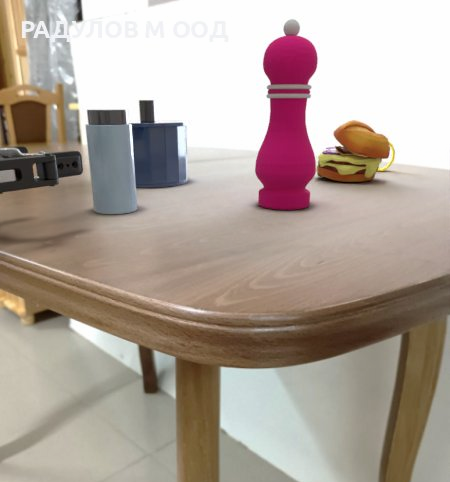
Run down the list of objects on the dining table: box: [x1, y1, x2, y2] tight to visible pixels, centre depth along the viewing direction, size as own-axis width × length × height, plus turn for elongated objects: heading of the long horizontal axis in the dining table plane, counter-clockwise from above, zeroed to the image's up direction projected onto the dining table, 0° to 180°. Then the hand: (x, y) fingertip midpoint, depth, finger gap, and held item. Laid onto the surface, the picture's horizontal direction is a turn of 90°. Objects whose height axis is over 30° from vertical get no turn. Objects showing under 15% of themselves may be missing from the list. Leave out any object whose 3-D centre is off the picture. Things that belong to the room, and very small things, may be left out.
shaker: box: [84, 108, 138, 215], centre depth 55 cm, size 5×5×11 cm
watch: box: [376, 136, 396, 172], centre depth 89 cm, size 6×3×6 cm, turn 77°
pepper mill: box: [254, 18, 319, 211], centre depth 56 cm, size 7×7×20 cm
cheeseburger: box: [316, 119, 391, 183], centre depth 78 cm, size 10×11×10 cm
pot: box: [132, 125, 189, 189], centre depth 76 cm, size 11×11×8 cm
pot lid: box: [129, 99, 190, 127], centre depth 73 cm, size 12×12×4 cm
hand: (51, 159), depth 49 cm, fingers open, 8 cm apart
